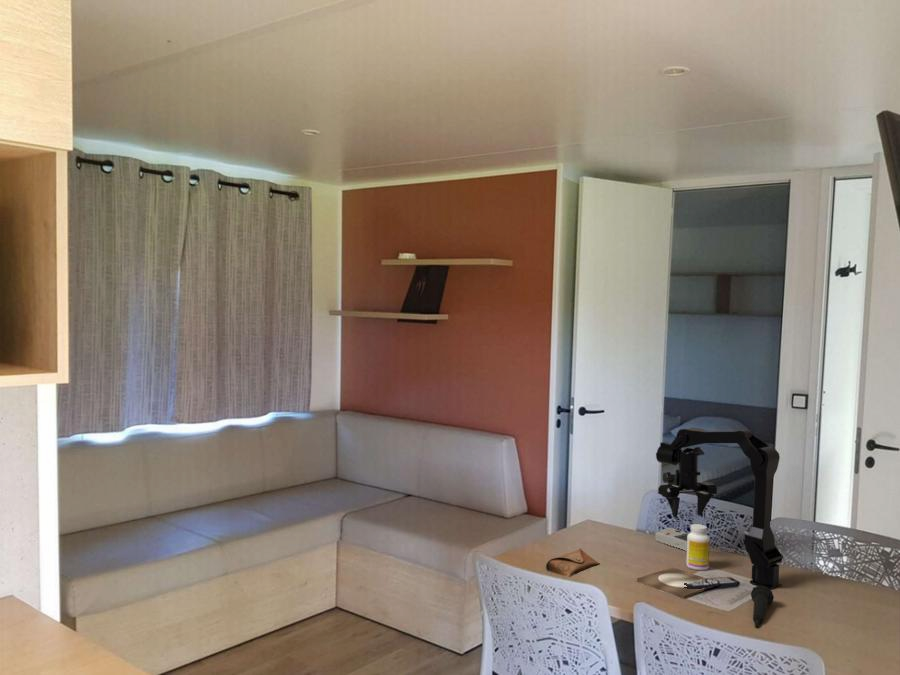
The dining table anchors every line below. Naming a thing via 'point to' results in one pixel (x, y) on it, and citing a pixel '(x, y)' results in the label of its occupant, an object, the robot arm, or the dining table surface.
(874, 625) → the dining table surface
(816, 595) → the dining table surface
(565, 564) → the sunglasses case
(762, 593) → the microphone
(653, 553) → the dining table surface
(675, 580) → the brown flat square board
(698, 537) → the supplement bottle
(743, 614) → the dining table surface
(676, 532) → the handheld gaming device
